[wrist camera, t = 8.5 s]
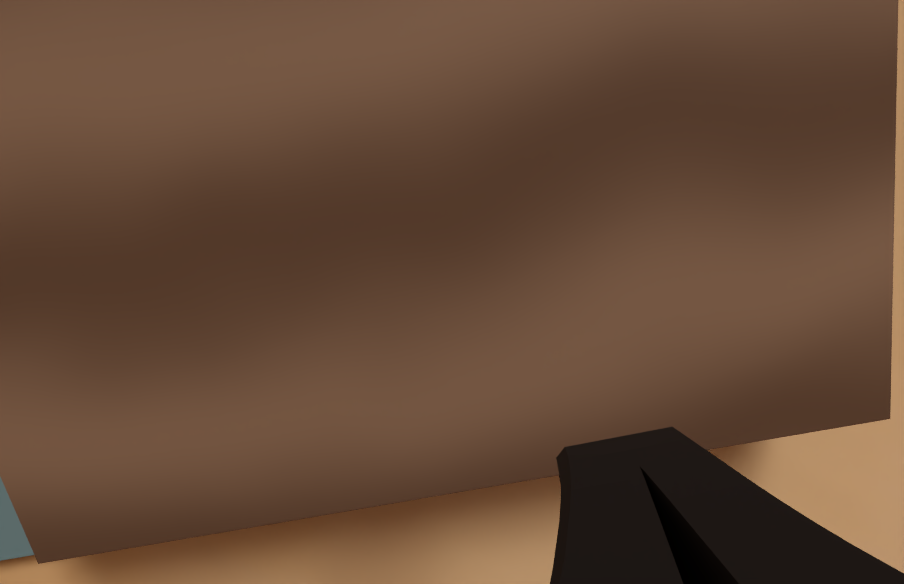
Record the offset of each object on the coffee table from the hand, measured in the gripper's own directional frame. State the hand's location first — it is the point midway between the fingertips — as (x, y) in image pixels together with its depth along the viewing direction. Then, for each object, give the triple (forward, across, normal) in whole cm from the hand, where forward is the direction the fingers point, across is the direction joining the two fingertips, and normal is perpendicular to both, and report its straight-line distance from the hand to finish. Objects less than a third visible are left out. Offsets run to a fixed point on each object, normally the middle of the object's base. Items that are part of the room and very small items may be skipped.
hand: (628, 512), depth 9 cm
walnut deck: (+10, +2, -2) cm, 11 cm away
